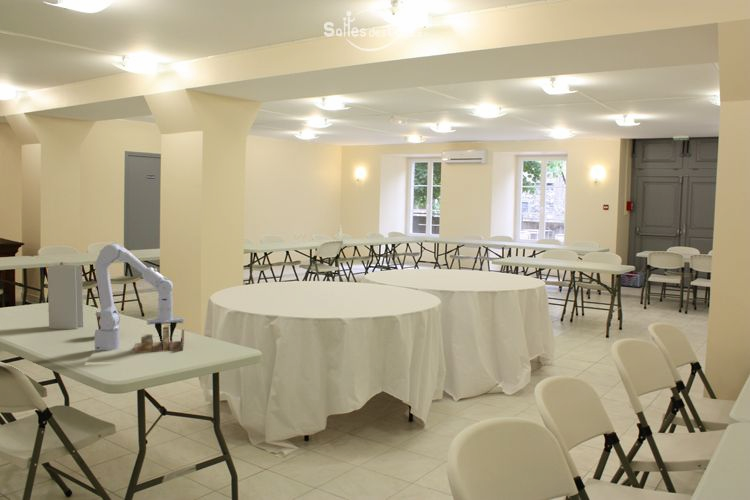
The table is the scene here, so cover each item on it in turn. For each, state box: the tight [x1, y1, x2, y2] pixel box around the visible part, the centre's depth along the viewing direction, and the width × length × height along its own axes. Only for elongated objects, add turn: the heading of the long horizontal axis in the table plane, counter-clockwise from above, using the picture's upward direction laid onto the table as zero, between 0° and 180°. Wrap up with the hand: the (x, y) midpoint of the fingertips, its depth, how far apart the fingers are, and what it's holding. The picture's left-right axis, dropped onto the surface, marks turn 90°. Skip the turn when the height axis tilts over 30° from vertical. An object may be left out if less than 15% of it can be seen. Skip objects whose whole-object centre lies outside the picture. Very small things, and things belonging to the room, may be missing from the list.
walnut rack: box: [130, 329, 185, 354], centre depth 263 cm, size 20×18×6 cm
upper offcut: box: [140, 333, 154, 343], centre depth 261 cm, size 4×5×2 cm
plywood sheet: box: [162, 324, 170, 349], centre depth 263 cm, size 2×10×8 cm, turn 15°
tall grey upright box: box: [46, 264, 84, 330], centre depth 304 cm, size 14×6×30 cm, turn 84°
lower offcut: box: [140, 339, 154, 350], centre depth 262 cm, size 4×7×2 cm, turn 15°
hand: (166, 340), depth 264 cm, fingers open, 3 cm apart
